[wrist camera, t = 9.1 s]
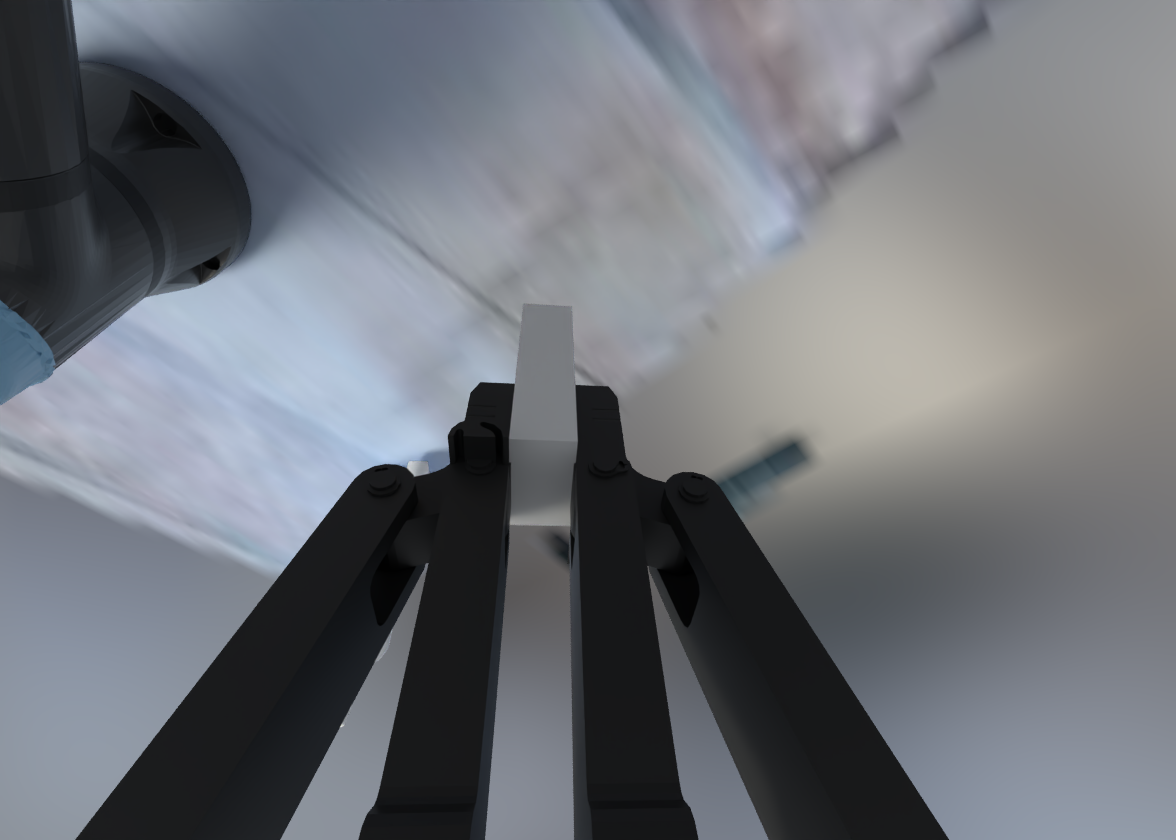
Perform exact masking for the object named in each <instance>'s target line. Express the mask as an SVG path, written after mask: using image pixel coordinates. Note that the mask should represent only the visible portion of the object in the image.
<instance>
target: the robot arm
mask: <svg viewBox="0 0 1176 840" xmlns="http://www.w3.org/2000/svg"><path fill="white" fill-rule="evenodd" d="M250 223H251V208H250V201H249V195H248V191H247V188H246V184H245V181H244V179H243V176H242V174H241V171H240V169H239V167H238V165H237V163H236V161H235V159H234V157H233V156H232V154H231V152H230V151H229V149H228V148H227V146H226V145H225V143H224V142H223V140H222V139H221V138H220V137H219V135H218V134H217V133H216V131H215V130H214V129H213V128H212V127H211V126H210V125H209V123H208V122H207V121H206V120H205V119H204V118H203V117H202V116H201V115H200V114H199V113H198V112H197V111H195V110H194V109H193V108H192V107H191V106H190V105H189V104H187V103H186V102H185V101H184V100H182V99H181V98H180V97H178V96H177V95H175V94H174V93H173V92H171V91H170V90H168V89H166V88H165V87H163V86H162V85H160V84H158V83H156V82H154V81H153V80H151V79H149V78H147V77H144V76H142V75H140V74H138V73H135V72H133V71H130V70H127V69H124V68H120V67H117V66H113V65H108V64H102V63H94V62H79V60H78V52H77V43H76V35H75V26H74V18H73V9H72V1H71V0H0V405H2V404H3V403H5V402H7V401H8V400H10V399H11V398H12V397H14V396H15V395H17V394H19V393H20V392H22V391H23V390H25V389H26V388H28V387H29V386H32V385H35V384H38V383H42V382H43V381H45V380H46V379H48V378H49V377H50V376H51V375H52V374H53V371H54V370H55V369H56V368H57V367H59V366H60V365H61V364H62V363H64V362H65V361H66V360H67V359H68V358H70V357H71V356H72V355H73V354H75V353H76V352H77V351H78V350H80V349H81V348H82V347H83V346H85V345H86V344H87V343H88V342H90V341H91V340H92V339H93V338H95V337H96V336H97V335H98V334H100V333H101V332H102V331H103V330H105V329H106V328H107V327H108V326H110V325H111V324H112V323H113V322H114V321H116V320H117V319H118V318H119V317H121V316H122V315H123V314H124V313H126V312H127V311H128V310H129V309H131V308H132V307H133V306H135V305H136V304H137V303H138V302H139V301H141V300H142V299H143V298H145V297H149V296H154V295H159V294H164V293H169V292H174V291H179V290H184V289H189V288H192V287H196V286H198V285H201V284H203V283H205V282H207V281H209V280H211V279H213V278H214V277H216V276H217V275H218V274H220V273H221V272H222V271H223V270H224V269H225V268H227V267H228V266H229V265H230V264H231V263H232V262H233V261H234V260H235V259H236V258H237V257H238V256H239V254H240V253H241V251H242V250H243V248H244V246H245V244H246V241H247V238H248V235H249V230H250ZM448 444H449V455H450V464H449V465H448V466H446V467H445V468H443V469H441V470H439V471H436V472H433V473H429V474H425V475H420V476H415V477H414V475H413V474H412V473H411V472H410V471H409V470H408V469H407V468H405V467H402V466H399V465H391V464H384V465H379V466H374V467H372V468H370V469H367V470H365V471H363V472H362V473H361V474H360V475H359V476H357V477H356V478H355V479H354V481H353V482H352V483H351V484H350V486H349V487H348V488H347V490H346V491H345V492H344V493H343V495H342V496H341V497H340V499H339V500H338V501H337V502H336V504H335V505H334V506H333V508H332V509H331V510H330V512H329V513H328V514H327V515H326V517H325V518H324V519H323V521H322V522H321V523H320V524H319V526H318V527H317V528H316V530H315V531H314V532H313V533H312V535H311V536H310V537H309V539H308V540H307V541H306V543H305V544H304V545H303V546H302V548H301V549H300V550H299V552H298V553H297V554H296V555H295V557H294V558H293V559H292V561H291V562H290V563H289V564H288V566H287V567H286V568H285V570H284V571H283V572H282V574H281V575H280V576H279V577H278V579H277V580H276V581H275V583H274V584H273V585H272V586H271V588H270V589H269V590H268V592H267V593H266V594H265V595H264V597H263V598H262V599H261V601H260V602H259V603H258V604H257V606H256V607H255V608H254V610H253V611H252V613H251V614H250V615H249V616H248V617H247V619H246V620H245V622H244V623H243V624H242V625H241V626H240V628H239V629H238V630H237V632H236V633H235V634H234V635H233V637H232V638H231V639H230V641H229V642H228V643H227V645H226V646H225V647H224V648H223V650H222V651H221V652H220V654H219V655H218V656H217V657H216V659H215V660H214V661H213V663H212V664H211V665H210V667H209V668H208V669H207V671H206V672H205V673H204V674H203V676H202V677H201V678H200V679H199V681H198V682H197V683H196V685H195V686H194V687H193V688H192V690H191V691H190V692H189V694H188V695H187V696H186V697H185V699H184V700H183V702H182V703H181V704H180V705H179V706H178V708H177V709H176V710H175V712H174V713H173V714H172V716H171V717H170V718H169V719H168V721H167V722H166V723H165V725H164V726H163V727H162V728H161V730H160V731H159V733H158V734H157V735H156V736H155V738H154V739H153V740H152V741H151V743H150V744H149V745H148V747H147V748H146V749H145V750H144V752H143V753H142V755H141V756H140V757H139V758H138V760H137V761H136V762H135V763H134V765H133V766H132V767H131V768H130V770H129V771H128V772H127V774H126V775H125V776H124V778H123V779H122V780H121V781H120V783H119V784H118V785H117V787H116V788H115V789H114V790H113V792H112V793H111V794H110V796H109V797H108V798H107V799H106V801H105V802H104V803H103V805H102V806H101V807H100V808H99V810H98V811H97V812H96V814H95V815H94V816H93V818H92V819H91V820H90V821H89V823H88V824H87V825H86V827H85V828H84V829H83V830H82V832H81V833H80V835H79V836H78V837H77V838H76V840H280V839H281V837H282V835H283V833H284V831H285V829H286V828H287V826H288V824H289V822H290V820H291V818H292V816H293V815H294V813H295V811H296V809H297V807H298V805H299V803H300V801H301V800H302V798H303V796H304V794H305V792H306V790H307V788H308V786H309V784H310V782H311V781H312V779H313V777H314V775H315V773H316V771H317V769H318V768H319V766H320V764H321V762H322V760H323V758H324V756H325V754H326V752H327V751H328V749H329V747H330V745H331V743H332V741H333V739H334V738H335V735H336V733H337V732H338V730H339V728H340V726H341V724H342V722H343V721H344V719H345V717H346V715H347V713H348V711H349V709H350V707H351V706H352V704H353V702H354V700H355V698H356V696H357V694H358V692H359V691H360V688H361V687H362V685H363V683H364V681H365V679H366V677H367V675H368V674H369V672H370V670H371V668H372V666H373V664H374V662H375V660H376V659H377V657H378V655H379V653H380V651H381V649H382V647H383V645H384V643H385V642H386V640H387V638H388V636H389V634H390V632H391V630H392V628H393V626H394V625H395V623H396V621H397V619H398V617H399V615H400V613H401V612H402V610H403V608H404V606H405V604H406V602H407V600H408V598H409V596H410V595H411V593H412V591H413V589H414V587H415V585H416V583H417V581H418V580H419V578H420V576H421V574H422V572H423V570H424V567H425V564H426V563H429V564H428V569H427V573H426V578H425V582H424V587H423V592H422V596H421V601H420V605H419V610H418V615H417V619H416V624H415V628H414V633H413V638H412V642H411V647H410V651H409V656H408V661H407V666H406V670H405V674H404V679H403V684H402V688H401V693H400V698H399V702H398V707H397V711H396V716H395V720H394V725H393V730H392V734H391V739H390V743H389V748H388V753H387V757H386V762H385V766H384V771H383V776H382V780H381V785H380V789H379V793H378V797H377V800H376V802H375V805H374V806H373V807H372V809H371V810H370V811H369V812H368V814H367V816H366V818H365V820H364V823H363V825H362V828H361V832H360V836H359V840H485V832H486V820H487V808H488V795H489V783H490V771H491V759H492V747H493V735H494V722H495V710H496V698H497V685H498V674H499V662H500V650H501V638H502V626H503V625H502V624H503V613H504V601H505V588H506V577H507V565H508V553H509V525H543V526H570V525H571V530H570V540H569V552H568V563H567V564H570V615H571V617H570V618H571V677H572V736H573V794H574V795H573V796H574V840H698V835H697V830H696V825H695V821H694V818H693V815H692V812H691V809H690V807H689V806H688V805H687V803H686V802H685V801H684V800H683V796H682V793H681V788H680V783H679V776H678V770H677V763H676V756H675V749H674V743H673V736H672V729H671V722H670V716H669V709H668V702H667V696H666V689H665V682H664V675H663V669H662V662H661V655H660V649H659V642H658V635H657V628H656V622H655V615H654V608H653V602H652V595H651V588H650V582H649V575H648V568H647V566H649V570H650V574H651V576H652V578H653V580H654V583H655V585H656V587H657V589H658V592H659V594H660V596H661V598H662V601H663V603H664V605H665V607H666V610H667V612H668V614H669V616H670V619H671V621H672V623H673V625H674V627H675V630H676V632H677V634H678V636H679V639H680V641H681V643H682V646H683V648H684V650H685V652H686V655H687V657H688V659H689V661H690V664H691V666H692V668H693V670H694V672H695V675H696V677H697V679H698V682H699V684H700V686H701V688H702V691H703V693H704V695H705V697H706V699H707V702H708V704H709V706H710V708H711V711H712V713H713V715H714V718H715V720H716V722H717V724H718V727H719V729H720V731H721V733H722V735H723V738H724V740H725V742H726V744H727V747H728V749H729V751H730V753H731V756H732V758H733V760H734V762H735V764H736V767H737V769H738V771H739V774H740V776H741V778H742V780H743V783H744V785H745V787H746V789H747V792H748V794H749V796H750V798H751V801H752V803H753V805H754V807H755V810H756V812H757V814H758V816H759V819H760V821H761V823H762V825H763V827H764V830H765V832H766V834H767V837H768V839H769V840H949V839H948V837H947V836H946V834H945V833H944V831H943V830H942V828H941V826H940V825H939V823H938V822H937V820H936V819H935V817H934V816H933V814H932V813H931V811H930V810H929V808H928V807H927V805H926V804H925V802H924V800H923V799H922V797H921V796H920V794H919V793H918V791H917V790H916V788H915V786H914V785H913V783H912V782H911V780H910V779H909V777H908V776H907V774H906V773H905V771H904V770H903V768H902V767H901V765H900V763H899V762H898V760H897V759H896V757H895V756H894V754H893V753H892V751H891V750H890V748H889V747H888V745H887V743H886V742H885V740H884V739H883V737H882V736H881V734H880V733H879V731H878V730H877V728H876V726H875V725H874V723H873V722H872V720H871V719H870V717H869V716H868V714H867V713H866V711H865V710H864V708H863V706H862V705H861V703H860V702H859V700H858V699H857V697H856V696H855V694H854V693H853V691H852V690H851V688H850V687H849V685H848V684H847V682H846V681H845V679H844V677H843V676H842V674H841V673H840V671H839V670H838V668H837V666H836V665H835V663H834V662H833V660H832V659H831V657H830V656H829V654H828V653H827V651H826V650H825V648H824V647H823V645H822V643H821V642H820V640H819V639H818V637H817V636H816V634H815V633H814V631H813V630H812V628H811V626H810V625H809V623H808V622H807V620H806V619H805V617H804V616H803V614H802V613H801V611H800V610H799V608H798V606H797V605H796V603H795V602H794V600H793V599H792V597H791V596H790V594H789V593H788V591H787V590H786V588H785V586H784V585H783V583H782V582H781V580H780V579H779V577H778V576H777V574H776V573H775V571H774V570H773V568H772V566H771V565H770V563H769V562H768V560H767V559H766V557H765V556H764V554H763V553H762V551H761V550H760V548H759V546H758V545H757V543H756V542H755V540H754V539H753V537H752V536H751V534H750V533H749V531H748V530H747V528H746V527H745V525H744V523H743V522H742V520H741V519H740V517H739V516H738V514H737V513H736V511H735V510H734V508H733V506H732V505H731V503H730V502H729V500H728V499H727V497H726V496H725V494H724V493H723V491H722V490H721V488H720V487H719V486H718V485H717V484H716V483H715V482H714V481H713V480H712V479H710V478H708V477H706V476H705V475H702V474H698V473H694V472H682V473H678V474H675V475H673V476H672V477H670V478H669V479H668V480H667V482H666V483H665V482H662V481H658V480H654V479H651V478H648V477H645V476H643V475H642V474H640V473H638V472H637V471H635V470H634V469H633V468H632V466H631V464H630V462H629V461H628V460H627V458H626V455H625V447H624V441H623V433H622V426H621V422H620V412H619V405H618V398H617V396H616V395H615V394H614V393H613V391H612V390H611V389H610V388H609V387H608V386H585V385H575V367H574V344H573V321H572V306H555V305H537V304H523V312H522V321H521V331H520V340H519V350H518V359H517V368H516V378H515V384H509V383H485V382H480V383H479V384H478V386H477V387H476V388H475V389H474V390H473V391H472V392H471V393H470V398H469V403H468V408H467V412H466V417H465V421H463V422H460V423H458V424H457V425H456V426H454V427H453V428H452V429H451V431H450V432H449V434H448Z"/></svg>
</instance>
